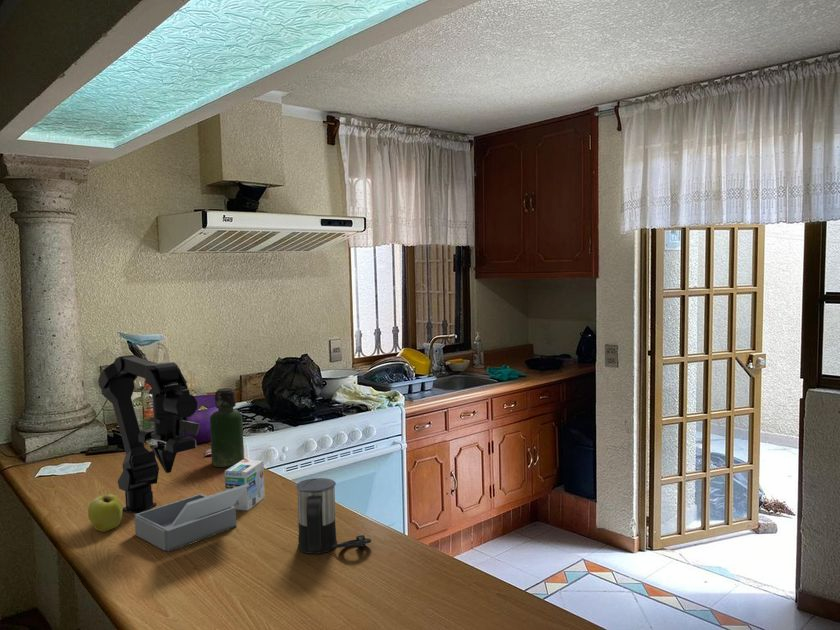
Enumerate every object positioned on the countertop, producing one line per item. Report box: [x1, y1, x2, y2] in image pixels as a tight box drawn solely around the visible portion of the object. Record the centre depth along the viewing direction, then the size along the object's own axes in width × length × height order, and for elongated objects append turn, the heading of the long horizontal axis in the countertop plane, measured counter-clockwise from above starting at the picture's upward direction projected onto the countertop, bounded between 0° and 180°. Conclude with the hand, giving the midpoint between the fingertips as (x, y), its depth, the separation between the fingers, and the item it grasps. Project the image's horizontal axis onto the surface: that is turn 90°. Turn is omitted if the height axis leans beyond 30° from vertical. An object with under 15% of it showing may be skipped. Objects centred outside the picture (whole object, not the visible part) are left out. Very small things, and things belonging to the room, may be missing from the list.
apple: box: [87, 491, 124, 533], centre depth 158 cm, size 8×8×10 cm
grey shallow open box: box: [134, 493, 237, 553], centre depth 157 cm, size 16×19×5 cm
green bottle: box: [209, 387, 245, 468], centre depth 211 cm, size 10×10×25 cm
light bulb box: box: [224, 459, 266, 511], centre depth 175 cm, size 11×7×11 cm, turn 168°
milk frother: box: [295, 477, 372, 554], centre depth 146 cm, size 14×16×15 cm
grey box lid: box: [171, 484, 249, 527], centre depth 149 cm, size 1×16×10 cm
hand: (168, 472), depth 162 cm, fingers closed
